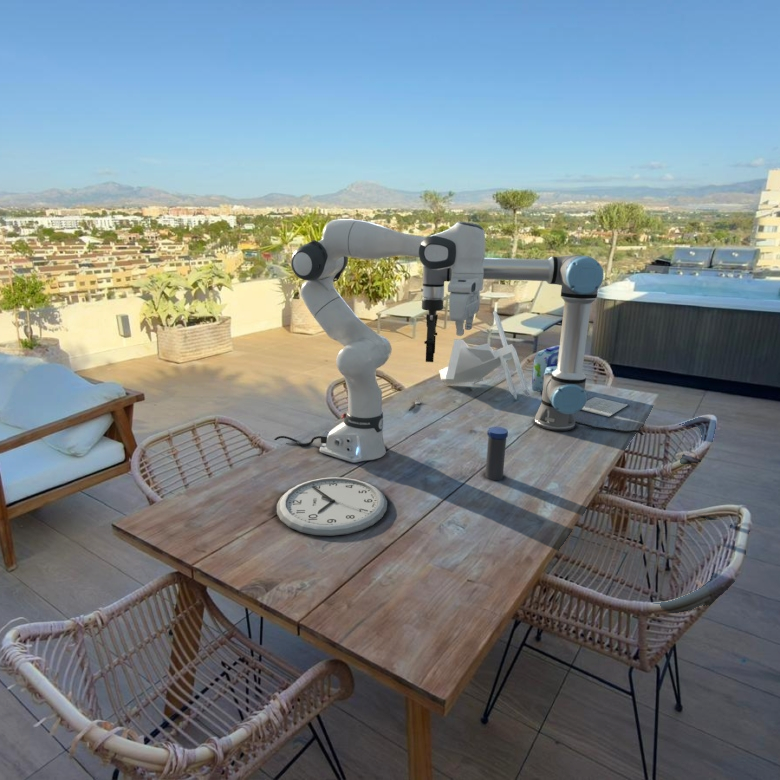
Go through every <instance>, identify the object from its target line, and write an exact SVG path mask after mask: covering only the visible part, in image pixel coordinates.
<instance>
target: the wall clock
mask: <svg viewBox="0 0 780 780" xmlns="http://www.w3.org/2000/svg"><path fill="white" fill-rule="evenodd" d="M387 509H388V500H387V498H386V496H385V494H384V493H383V492H382V491H381V490H380V489H379V488H377V487H376V486H374V485H372V484H371V483H369V482H365V481H362V480H359V479H355V478H349V477H338V476H337V477H335V476H333V477H332V476H331V477H322V478H317V479H312V480H307V481H305V482H302V483H299V484H297V485H295V486H293V487H292V488H290V489H288V490H287V491H286V492H285V493H284V494H283V495H281V496H280V498H279V499H278V502H277V503H276V515H277V517H278V518H279V520H280V521H281V522H282V523H283V524H285V525H286V526H287V527H288V528H290V529H293V530H295V531H297V532H299V533H303V534H308V535H312V536H327V537H328V536H329V537H331V536H332V537H333V536H342V535H350V534H352V533H356V532H361V531H363V530H366V529H368V528H369V527H372V526H373V525H375V524H376V523H378V522H379V521H380V520H381V519H382V518H383V517H384V516H385V514H386V512H387Z"/></svg>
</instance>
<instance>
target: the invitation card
mask: <svg viewBox="0 0 780 780" xmlns="http://www.w3.org/2000/svg"><path fill="white" fill-rule="evenodd" d="M628 406H629V404H627V403H623V402H618V401H614V400H609V399H605V398H601V397H596V396H593V397H592V398H590V399H587V401H586V404H585V406H584V407H583V408H582V409H581V410H580V411H584V412H587V413H593V414H596V415H600V416H604V417H608V418H609V417H611V416H613V415H614V414H616V413H617V412H619V411H621V410H623V409H624V408H626V407H628Z"/></svg>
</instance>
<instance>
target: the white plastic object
mask: <svg viewBox="0 0 780 780" xmlns="http://www.w3.org/2000/svg"><path fill="white" fill-rule="evenodd" d="M492 315H493V319H494V321H495V324H496V325H495V326H496V328H497V332H498V335H499V338H500V342H501V345H502V347H500V348H498V349H496V350H495V349H493V348H492V347H491V346H490V344H489V343H488V342H487V343H483V344H479V345H473V346H469V345H468V343H466V342H465V340H464V339H463V338H460V339H458V338H454V340H453V344H452V349H451V353H450V357H449V362H448V366H446V367H444V368H442V369H440V370H439V371H438V372H439V376H440V381H442V383H443V384H444V385H445V386H449V385H458V384H467V383H468V384H469V383H473V384H477V383H480V382H482V381H484V378H485V377H486V376H487V375H489V374H490V373H492V372H494V371H495V370H496V369H497V368H499V367H500V366H502V370H503V373H504V376H505V380H506V383H507V386H508V390H509V393H510V394H511V395H512V397H513V398H514V399H515V400H517V392H516V391H517V390H516V388H515V385H514V381H513V378H512V375H511V371H510V369H509V365H508V361H510V360H513V363H514V366H515V369H516V372H517V376H518V380H519V382H520V385H521V389H522V391H523V393H524V395H525V396H526V397H528V396H531V395H530V390H529V388H528V387H529V386H528V384H527V381H526V378H525V375H524V371H523V369H522V368H523V367H522V366H521V362H520V359H519V355H518V352H517V349H516V347H515V346H514V345H513V343H511V344H508V341H507V337H506V334H505V331H504V328H503V325H502V321H501V318H500V315H499V314H498V312H497V311H496V310H495V311H492Z"/></svg>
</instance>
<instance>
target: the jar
mask: <svg viewBox="0 0 780 780" xmlns="http://www.w3.org/2000/svg"><path fill="white" fill-rule="evenodd" d="M506 444H507V438H505V439H494V438H491V437H489V436H488V435H487V451H486V463H485V475H484V476H485V477H486V478H487V479H488V480H491V481H501V480H503V478H504V468H505V459H506V458H505V457H506V456H505V455H506V446H507V445H506Z"/></svg>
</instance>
